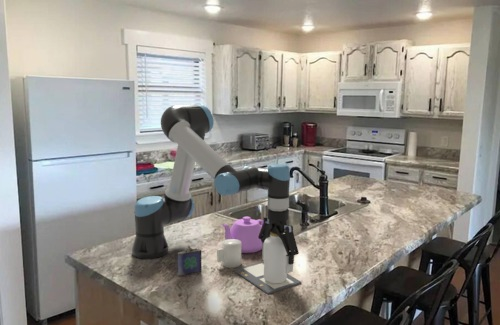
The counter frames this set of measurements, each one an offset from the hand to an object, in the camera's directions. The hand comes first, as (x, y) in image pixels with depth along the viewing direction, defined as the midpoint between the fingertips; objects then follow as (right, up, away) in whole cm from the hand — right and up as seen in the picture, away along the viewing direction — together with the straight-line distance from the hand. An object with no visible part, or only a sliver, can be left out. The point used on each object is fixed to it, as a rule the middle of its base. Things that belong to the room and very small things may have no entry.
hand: (277, 265), depth 148 cm
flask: (-33, -5, +8) cm, 34 cm away
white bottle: (-1, -6, +2) cm, 6 cm away
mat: (-4, -6, +5) cm, 9 cm away
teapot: (-12, -1, +35) cm, 37 cm away
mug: (-18, -4, +16) cm, 25 cm away
